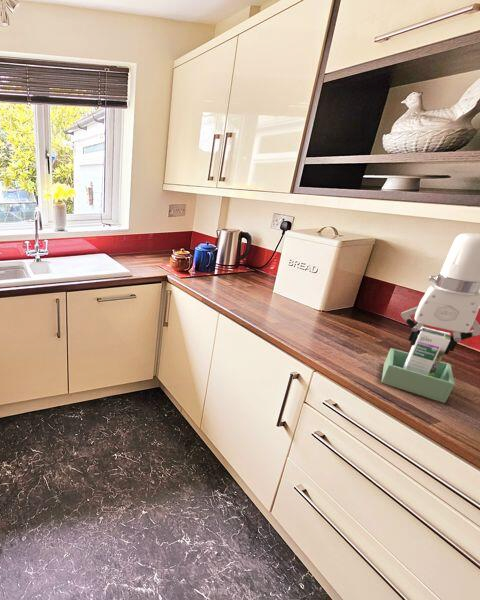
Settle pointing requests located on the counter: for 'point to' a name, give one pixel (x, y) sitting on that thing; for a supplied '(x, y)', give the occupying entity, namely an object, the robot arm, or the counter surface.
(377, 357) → the counter surface
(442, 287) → the robot arm
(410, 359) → the syrup box
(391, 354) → the bin
